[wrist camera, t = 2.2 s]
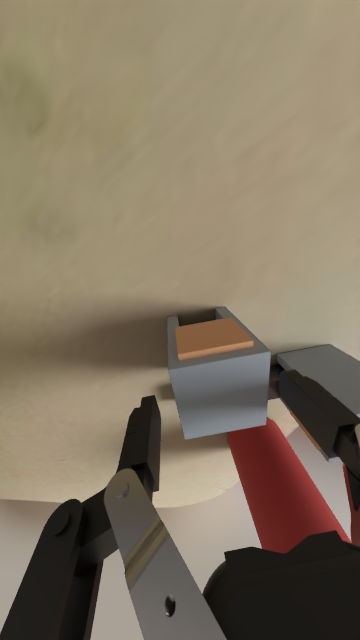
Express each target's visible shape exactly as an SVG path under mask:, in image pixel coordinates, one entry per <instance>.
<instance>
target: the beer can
mask: <svg viewBox="0 0 360 640" xmlns="http://www.w3.org/2000/svg"><path fill="white" fill-rule="evenodd" d="M228 443H229V446H230V450H231V453H232V456H233V459H234V462H235V465H236V468H237V471H238V474H239V478H240V481H241V484H242V487H243V490H244V493H245V496H246V499H247V503H248V505H249V509H250V512H251V515H252V518H253V521H254V524H255V527H256V531H257V534H258V537H259V540H260V543H261V546H262V549H265V550H269V551H274V552H279V553H287V552H289V551H290V550H291V549H292V548H294V547H295V546H296V545H297V544H299V543H300V542H301V541H302V540H304V539H305V538H306V537H307V536H309V535H313V534H318V533H323V532H328V531H333V530H336V531H337V532H338V534H339V535H340V537H341V539H342V540H343V541H346V542H349V543H352V542H351V541H350V540H349V538H348V536H347V535H346V533H345V531H344V530H343V528H342V527H341V525H340V523H339V522H338V520H337V519H336V517H335V516H334V514H333V512H332V511H331V509H330V508H329V506H328V505H327V503H326V501H325V500H324V498H323V497H322V495H321V493H320V492H319V490H318V489H317V487H316V485H315V484H314V482H313V481H312V479H311V478H310V476H309V474H308V473H307V471H306V470H305V468H304V466H303V465H302V463H301V462H300V460H299V459H298V457H297V455H296V454H295V452H294V451H293V449H292V447H291V446H290V444H289V443H288V441H287V439H286V438H285V436H284V435H283V433H282V432H281V430H280V428H279V427H278V425H277V424H276V423H275V422H274V421H273V420H271V419H269V418H266V425H262V426H257V427H251V428H246V429H240V430H235V431H230V432H229V434H228Z"/></svg>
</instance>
